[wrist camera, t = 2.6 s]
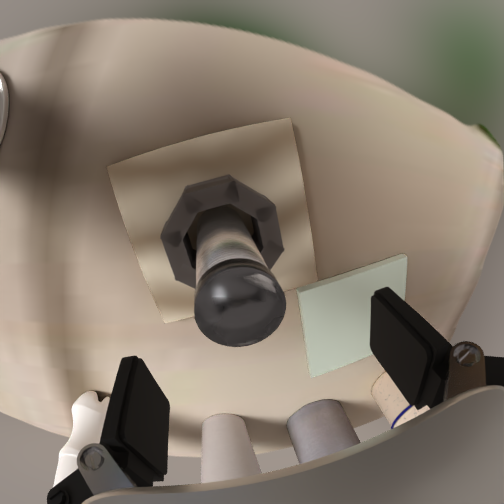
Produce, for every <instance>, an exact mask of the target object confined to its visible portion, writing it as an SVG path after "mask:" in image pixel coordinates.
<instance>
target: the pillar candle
mask: <svg viewBox="0 0 504 504" xmlns="http://www.w3.org/2000/svg"><path fill="white" fill-rule="evenodd" d="M287 429H288V432H289V435H290V438H291V441H292V444H293V447H294V450H295V452H296V455H297V458H298V461H299V463H300V464H302V463H305V462H309V461H312V460H315V459H318V458H321V457H324V456H327V455H330V454H333V453H336V452H339V451H341V450H344V449H347V448H349V447H352V446H354V445H357V444H359V443H360V440H359V439H358V437H357V435H356V433H355V431H354V429H353V427H352V425H351V423H350V421H349V419H348V417H347V416H346V414H345V412H344V410H343V408H342V406H341V404H340V403H339V402H338V401H336V400H320V401H315V402H312V403H310V404H307V405H305V406H304V407H302V408H301V409H300V410H298V411H297V412H296V413H295V414H293V415H292V416H291V417H290V418H289V419H288V421H287Z"/></svg>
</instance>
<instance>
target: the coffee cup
mask: <svg viewBox="0 0 504 504" xmlns="http://www.w3.org/2000/svg"><path fill="white" fill-rule="evenodd" d="M258 474H262V472H261V469H260V467H259V464H258V461H257V458H256V455H255V452H254V449H253V446H252V444H251V441H250V438H249V434H248V431H247V428H246V425H245V422H244V420H243V419H242V418H241V417H239V416H237V415H233V414H218V415H214V416H211V417H209V418H207V419H206V420H205V421H204V422H203V424H202V456H201V483H209V482H217V481H224V480H230V479H237V478H242V477H248V476H253V475H258Z"/></svg>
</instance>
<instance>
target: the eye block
mask: <svg viewBox="0 0 504 504" xmlns="http://www.w3.org/2000/svg"><path fill="white" fill-rule="evenodd" d="M107 171H108V174H109V178H110V181H111V185H112V188H113V191H114V194H115V198H116V201H117V204H118V207H119V210H120V213H121V216H122V219H123V222H124V225H125V228H126V230H127V233H128V236H129V239H130V241H131V244H132V247H133V249H134V252H135V255H136V257H137V260H138V262H139V265H140V267H141V270H142V272H143V275H144V277H145V280H146V282H147V285H148V287H149V289H150V292H151V294H152V296H153V299H154V301H155V303H156V305H157V308H158V310H159V312H160V314H161V316H162V319H163V321H164V323H169V322H173V321H177V320H181V319H185V318H189V317H193V316H195V315H194V293H195V289H196V246H197V223H198V220H199V218H200V216H201V215H202V213H203V212H204V211H206V210H208V209H211V208H215V207H219V206H223V205H224V206H228V207H230V208H232V209H234V210H235V211H236V212H237V213H238V214H239V215H240V217H241V219H242V221H243V222H244V224H245V226H246V228H247V230H248V232H249V233H250V235H251V237H252V239H253V241H254V243H255V245H256V246H257V248H258V250H259V252H260V254H261V256H262V258H263V259H264V261H265V263H266V265H267V267H268V269H270V271H271V272H272V273H273V274H274V276H275V277H276V279H277V281H278V283H279V284H280V286H281V288H282V290H283V292H284V291H288V290H291V289H295V288H298V287H301V286H304V285H308V284H311V283H314V282H317V281H318V278H317V270H316V262H315V255H314V247H313V240H312V233H311V227H310V220H309V214H308V207H307V201H306V195H305V189H304V184H303V178H302V172H301V167H300V161H299V156H298V151H297V146H296V141H295V136H294V131H293V126H292V122H291V117H290V118H284V119H278V120H273V121H267V122H262V123H257V124H252V125H247V126H242V127H237V128H233V129H229V130H224V131H220V132H216V133H212V134H208V135H204V136H200V137H196V138H193V139H189V140H186V141H182V142H179V143H175V144H172V145H168V146H165V147H162V148H159V149H156V150H152V151H149V152H146V153H143V154H140V155H137V156H135V157H132V158H129V159H126V160H123V161H121V162H118V163H115V164H112V165H110V166H107Z"/></svg>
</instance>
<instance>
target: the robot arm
mask: <svg viewBox="0 0 504 504" xmlns="http://www.w3.org/2000/svg"><path fill="white" fill-rule="evenodd" d="M8 108H9V94H8V89H7V84H6V82H5V79H4V77H3V76H2V74H1V73H0V144H1V141H2V139H3V135H4V132H5V128H6V123H7V118H8ZM370 349H371V351H372V353H373V354H374V355H375V357H376V358H377V360H378V361H379V362H380V364H381V365H382V367H383V368H384V369H385V371H386V372H387V373H388V375H389V376H390V378H391V379H392V381H393V382H394V383H395V385H396V386H397V388H398V389H399V390H400V392H401V393H402V395H403V396H404V398H405V399H406V400H407V402H408V403H409V405H411V406H413V405H414V406H415V407H416V409H417V410H419V409H421V408H423V407H425V406H426V405H427V406H428V407H429V408H430V410H428V411H426V412H424V413H422V414H420V415H419V416H417V417H415V418H413V419H411V420H409V421H407V422H405V423H403V424H401V425H399V426H397V427H395V428H393V429H391V430H389V431H387V432H385V433H382V434H380V435H378V436H376V437H374V438H372V439H369V440H367V441H364V442H362V443H359V444H357V445H354V446H352V447H349V448H347V449H344V450H341V451H339V452H336V453H333V454H330V455H327V456H324V457H321V458H318V459H315V460H312V461H309V462H305V463H302V464H299V465H295V466H291V467H288V468H284V469H280V470H276V471H272V472H268V473H263V474H258V475H253V476H248V477H242V478H237V479H230V480H224V481H217V482H209V483H199V484H188V485H175V486H154V487H152V486H153V481H164V475H166V474H167V460H168V431H169V412H170V405H169V401H168V399H167V398H166V396H165V395H164V393H163V392H162V390H161V389H160V387H159V386H158V384H157V382H156V381H155V379H154V378H153V376H152V374H151V373H150V371H149V370H148V368H147V366H146V365H145V363H144V361H143V360H142V359H141V358H139V359H138V357H137V356H130V357H124V358H122V360H121V363H120V366H119V369H118V373H117V376H116V380H115V383H114V387H113V391H112V394H111V396H110V400H109V404H108V408H107V412H106V416H105V420H104V425H103V429H102V434H101V438H100V443H99V444H98V443H92V444H88V445H86V446H85V447H83V448H82V449H81V450H80V452H79V453H78V456H77V466H78V469H77V470H75V471H74V472H73V473H71V474H70V475H69V476H67V477H66V478H65V479H63V480H62V481H61V482H59V483H58V484H57V485H55V486H54V487H53V488H52V489H51V490H50V491H49V493H48V496H47V504H504V357H491V356H484V352H483V350H482V349H481V347H480V346H478V345H477V344H475V343H473V342H468V341H463V342H459V343H457V344H456V345H454V346H452V345H451V344H450V343H449V342H448V341H447V340H446V339H445V338H444V337H443V336H442V335H441V334H440V333H439V332H438V331H437V330H435V329H434V328H433V327H432V326H431V325H430V324H429V323H428V322H427V321H426V320H425V319H424V318H423V317H422V316H421V315H420V314H419V313H417V312H416V311H415V310H414V309H413V308H412V307H410V306H409V305H408V304H407V303H406V302H405V301H404V300H403V299H402V298H401V297H399V296H398V295H397V294H396V293H395V292H394V291H393V290H392V289H391V288H389V287H384V288H381V289H379V290H376V291H375V292H374V295H373V296H371V320H370Z"/></svg>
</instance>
